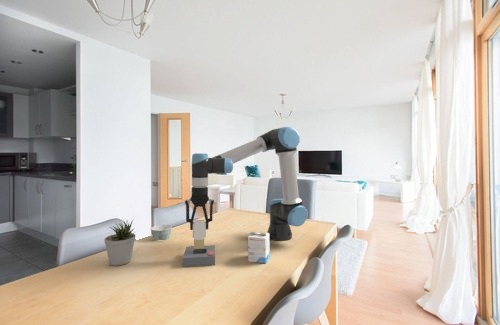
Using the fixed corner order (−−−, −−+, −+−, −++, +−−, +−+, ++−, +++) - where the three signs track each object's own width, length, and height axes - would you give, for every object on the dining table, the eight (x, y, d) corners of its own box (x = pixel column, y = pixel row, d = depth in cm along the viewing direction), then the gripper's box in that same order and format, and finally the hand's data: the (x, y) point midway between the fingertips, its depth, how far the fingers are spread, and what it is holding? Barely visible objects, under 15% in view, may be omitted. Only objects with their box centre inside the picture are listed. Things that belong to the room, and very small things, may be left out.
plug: (204, 245, 118) (204, 219, 118) (203, 248, 114) (204, 222, 114) (194, 245, 118) (194, 220, 118) (193, 248, 113) (194, 222, 113)
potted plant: (103, 271, 104) (103, 224, 104) (105, 259, 116) (105, 217, 116) (136, 265, 110) (136, 220, 110) (134, 254, 122) (134, 214, 122)
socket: (214, 253, 124) (214, 244, 124) (215, 265, 110) (215, 254, 110) (186, 254, 122) (186, 245, 122) (182, 267, 108) (182, 256, 108)
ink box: (270, 256, 120) (270, 229, 120) (265, 263, 112) (265, 234, 112) (253, 254, 123) (253, 227, 122) (247, 261, 115) (247, 232, 114)
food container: (155, 243, 139) (155, 231, 139) (147, 238, 148) (147, 227, 148) (175, 238, 147) (175, 227, 147) (167, 234, 156) (167, 223, 156)
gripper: (218, 185, 121) (218, 233, 121) (181, 185, 118) (181, 234, 118) (218, 187, 113) (218, 238, 114) (179, 187, 111) (178, 239, 111)
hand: (199, 236), depth 116 cm, fingers closed on plug, 4 cm apart
